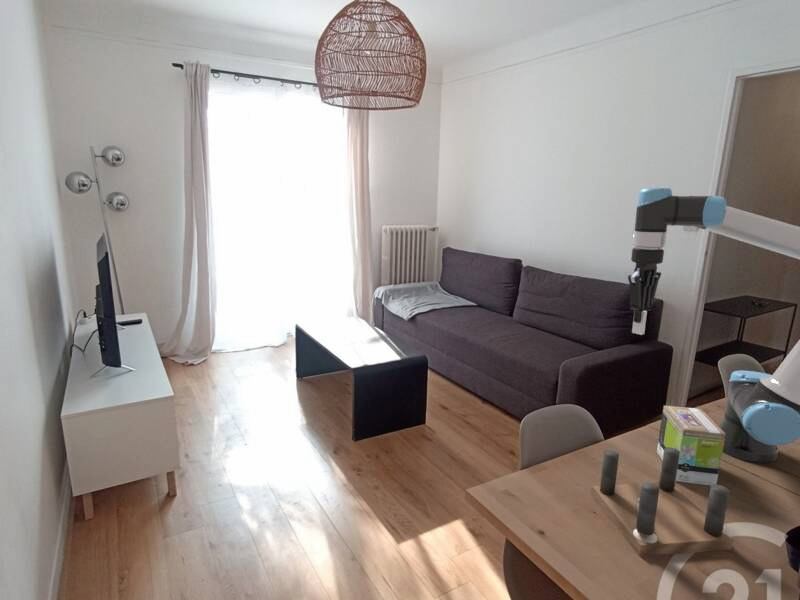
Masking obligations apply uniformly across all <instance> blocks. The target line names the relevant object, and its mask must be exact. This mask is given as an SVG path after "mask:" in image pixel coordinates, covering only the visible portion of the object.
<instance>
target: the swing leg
mask: <svg viewBox="0 0 800 600" xmlns="http://www.w3.org/2000/svg"><path fill="white" fill-rule="evenodd" d="M641 483H642V485H641V493H640V498H639V499H637V523H636V529H637V531H638V533H639V534H643V535H646V536H650V537H651V535H652V534H653V531H654V524H655V517H656V510H657V503H658V496H659V487H658V486H657V485H655V484H653V483H654V482H648V481H643V482H641Z"/></svg>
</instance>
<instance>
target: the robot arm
mask: <svg viewBox="0 0 800 600" xmlns="http://www.w3.org/2000/svg"><path fill="white" fill-rule="evenodd" d="M634 225H635V226H634V233H633V236H632V237H633V242H632V244H633V245H632V246H633V248H632V249H631V258H630V259H631V262H632V263H635V267H634V270H633V274H628V276H627V278H628V283H629V309H630V310H632V311H633V320H632V327H631V328H632V329H631V333H632V334H636V335H640V336H642V335H645V331H646V326H647V325H646V323H647V315H648V311H650V312H651V311H652V310H653V305H654V301H655V297H656V293H657V290H658V289H657V288H658V285H659V281H660V279H661V276H662V272H661V271H658V270H657V269H658V266H657V265H660V264H662V263H663V261H664V255H665V250H664V249H663V248H664V247H666V240H667V231H668V226H670V227H671V226H673V227H674V226H681V227H695V228H698V229H701V230H705V231H707V232H712V233H715V234H718V235H720V236H724V237H727V238H731V239H733V240H737V241H739V242H743V243H747V244H750V245H753V246H755V247H759V248H762V249H765V250H768V251H772V252H775V253H779V254H781V255H784V256H787V257H791V258H794V259H797V260H800V226H798V225H793V224H790V223H787V222H784V221H780V220H777V219H773V218H770V217H767V216H763V215H759V214H756V213H752V212H749V211H745V210H742V209H740V208H739V209H738V208H735V207H732V206H729V205H727V200H726V198H725V197H724V196H717V195H684V196H683V195H682V196H681V195H673V192H672V189H671V188H670V187H646V188H642V189H641V190H639V192H638V199H637V205H636V213H635V224H634ZM728 382H729V383H728V389H727V390H728V391H727V396H726V403H725V409H724V414H723V415H724V416H723V418H722V421H721V422H720V424H719V425H718V427H720V429H721V430H722V431H723V432H724V433H725V440H724V446H723V451H722V453H725V454H727V455H729V456H731V457H734V458H737V459H740V460H744V461H747V462H752V463H753V462H754V463H773V462H774V461H776V460H777V457H778V454H779V448H778V446H785V445H790V444H792V443H794V442H795V441H797V440H799V439H800V339H798V341H797V342H796V343H795V345H794V346H793V348H792V349H791V350H790V352H789V353H788V354H787V355H786V357H784V359H783V361H782V362H781V364H780V365H779V366H778V367H777V368H776V370H775V371H774V372H773V374H769V373H766V372H765V373H764V372H760V371H759V372H758V371H752V370H742V369H741V370H735V371H732V372H731V375H730V379H729V380H728Z"/></svg>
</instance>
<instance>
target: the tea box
mask: <svg viewBox="0 0 800 600" xmlns="http://www.w3.org/2000/svg"><path fill="white" fill-rule="evenodd" d="M724 440H725V433H724V432H723V431H722V430H721V429H720V427H719V425H718V424H717V423H715V422H714V421H713V419H712V418H711V417H710V416H708V414H707V413H706V412H705V411H704V410H703V409H702V408H694V407H684V406H683V407H682V406H674V405H673V406H672V405H663V409H662V413H661V422H660V429H659V435H658V442H657V449H656V453H657V454H658V456H659V457H660V458H661V460H662V461H663V454H664V448H666V447H671V448H675V449H677V450H678V451H679V452H680V454H679V461H678V468H677V474H676V481H675V482H680V483H685V484H687V483H688V484H693V485H703V486H710V487H711V485H713V484H717V483H718V478H719V473H720V472H719V471H720V467H721V461H722V457H723V446H724ZM662 461H661V462H662ZM717 485H718V484H717Z"/></svg>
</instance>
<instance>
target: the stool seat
mask: <svg viewBox="0 0 800 600" xmlns="http://www.w3.org/2000/svg"><path fill="white" fill-rule="evenodd" d="M679 454H680V452H679V451H678V450H677V449H675V448H671V447H666V448H664V454H663V461H661V462H662V463H661V467H660V468H661V470H660V476H659V482H658V481H657V482H652V483H653V484H655V485H657V486H658V487H659V496H658V503H657V510H656V517H655V524H654V531H653V534H652V535H651V537H650V536H646V535H643V534H639V533H638V531H637V529H636V523H637V499H639V498H640V493H641V485H642V483H643V482H640V483H622V484H616V483H617V476H618V475H617V474H618V467H619V466H618V465H619V458H620V455H619V453H618V452H617V451H615V450H614V449H613V450H611V449H606V450H604V451H603V459H602V468H601V476H600V484H599V485H592V486H591V492H590V496H591V497H592V499H593V500H594V501H595V502H596V504H597V505H598V506H599V507H600V508H601V510H602V511H603V512H604V513H605V515H606V516H607V517H608V519H609V520H610V521H611V522H612V524H614V526H615V528H617V530H618V531H619V532H620V534H621V535H622V536H623V538H624V539H625V540H626V541H627V542H628V544H629V545H630V546H631V547H632V549H633V550H634V551H635V552H636V554H637V555H638V556H639V557H643V556H657V555H658V556H659V555H672V554H674V555H675V554H687V553H689V554H690V553H703V552H714V551H715V552H716V551H717V552H718V551H731V550H732V548H733V542H734V539H733V538H732V536H730V535H729V534H728V533H727V532H726V531H725V530H724V526H725V525H724V524H725V520H726V519H725V518H726V514H727V508H728V502H729V496H730V490H729V489H728V488H727V487H725V486H724V485H721V484H713V485H711V486H710V487H709V488H710V489H709V494H708V500H707V506H706V507H707V508H706V513H705V512H704V511H703V510H701V508H699V507H698V506H697V505H696V504H695V503H694V502H693V501H691V500H690V498H688V497H687V495H685V494H683V492H681V491H680V490H679V489H678V488H677V487H676V482H677V481H676V474H677V468H678V461H679Z"/></svg>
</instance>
